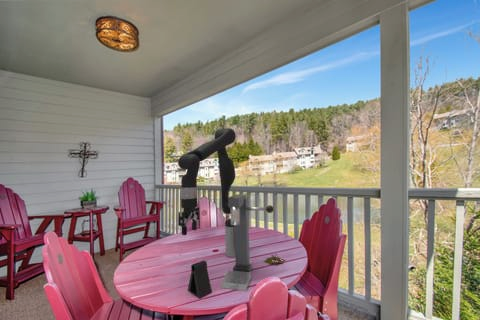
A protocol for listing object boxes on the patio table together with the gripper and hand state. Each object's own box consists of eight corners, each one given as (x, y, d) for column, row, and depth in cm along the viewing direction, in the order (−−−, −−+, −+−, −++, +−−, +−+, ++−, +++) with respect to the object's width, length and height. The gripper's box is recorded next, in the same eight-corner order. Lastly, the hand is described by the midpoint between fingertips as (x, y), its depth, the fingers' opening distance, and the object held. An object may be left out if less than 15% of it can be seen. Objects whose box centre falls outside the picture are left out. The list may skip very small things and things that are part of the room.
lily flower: (289, 261, 120) (289, 253, 120) (278, 269, 111) (277, 260, 112) (271, 256, 128) (271, 248, 128) (259, 262, 119) (259, 254, 120)
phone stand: (187, 290, 93) (187, 261, 94) (199, 285, 97) (199, 257, 98) (199, 299, 87) (199, 268, 87) (211, 292, 91) (211, 263, 91)
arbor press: (233, 267, 114) (232, 193, 115) (276, 271, 108) (273, 194, 110) (221, 287, 94) (219, 199, 96) (271, 293, 89) (268, 199, 91)
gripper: (190, 195, 110) (190, 228, 109) (173, 198, 97) (173, 236, 96) (203, 195, 108) (204, 229, 107) (187, 199, 94) (188, 237, 93)
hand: (189, 232), depth 101 cm, fingers open, 8 cm apart
